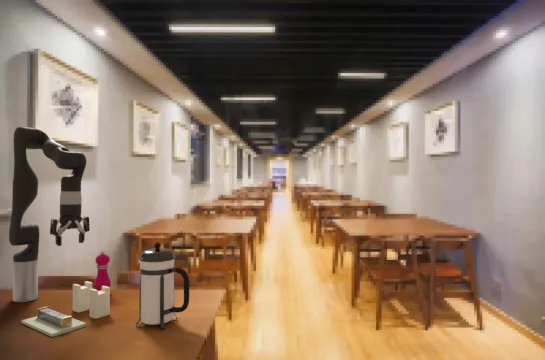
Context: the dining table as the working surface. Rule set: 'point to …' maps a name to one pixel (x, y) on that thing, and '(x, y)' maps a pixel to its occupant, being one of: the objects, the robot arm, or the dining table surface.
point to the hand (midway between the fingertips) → (70, 244)
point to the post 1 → (81, 297)
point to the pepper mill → (102, 272)
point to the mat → (51, 326)
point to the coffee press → (159, 287)
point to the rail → (54, 317)
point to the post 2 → (99, 302)
